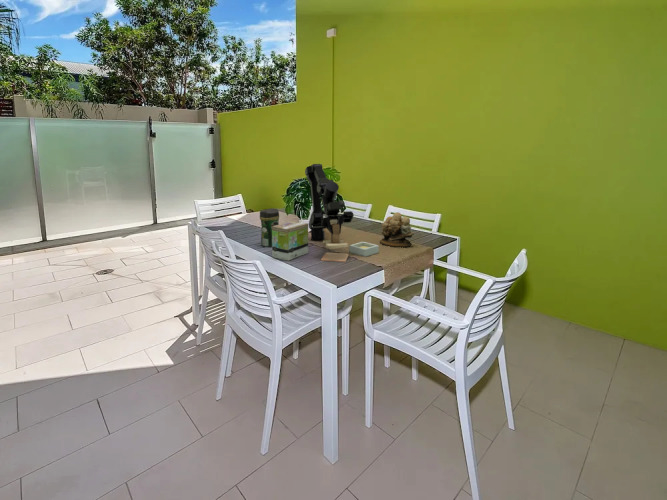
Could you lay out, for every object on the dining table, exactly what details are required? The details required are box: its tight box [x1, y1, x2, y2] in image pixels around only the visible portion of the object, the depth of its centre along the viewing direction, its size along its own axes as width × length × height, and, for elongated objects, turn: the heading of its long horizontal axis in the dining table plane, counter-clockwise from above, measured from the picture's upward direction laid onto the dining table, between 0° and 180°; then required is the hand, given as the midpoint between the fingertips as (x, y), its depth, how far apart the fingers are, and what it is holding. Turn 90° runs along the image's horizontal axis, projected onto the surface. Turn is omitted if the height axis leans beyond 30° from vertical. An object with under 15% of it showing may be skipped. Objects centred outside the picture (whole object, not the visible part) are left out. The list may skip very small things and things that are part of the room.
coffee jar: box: [259, 207, 280, 248], centre depth 189 cm, size 10×8×19 cm
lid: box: [322, 223, 349, 250], centre depth 169 cm, size 9×9×10 cm
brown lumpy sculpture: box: [379, 212, 415, 249], centre depth 191 cm, size 18×12×17 cm, turn 60°
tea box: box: [271, 220, 309, 262], centre depth 173 cm, size 15×10×15 cm, turn 148°
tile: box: [320, 252, 350, 263], centre depth 172 cm, size 11×11×1 cm
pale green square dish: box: [348, 241, 380, 258], centre depth 179 cm, size 10×10×4 cm
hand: (336, 233), depth 167 cm, fingers closed on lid, 3 cm apart
